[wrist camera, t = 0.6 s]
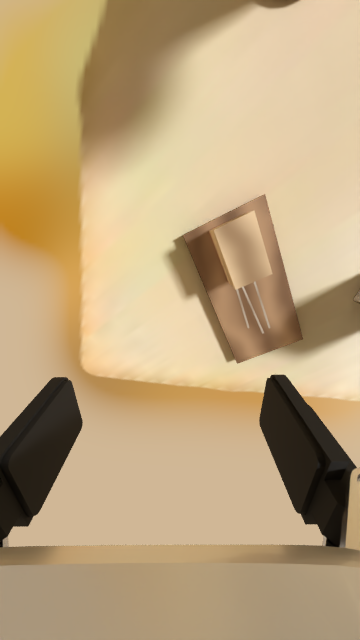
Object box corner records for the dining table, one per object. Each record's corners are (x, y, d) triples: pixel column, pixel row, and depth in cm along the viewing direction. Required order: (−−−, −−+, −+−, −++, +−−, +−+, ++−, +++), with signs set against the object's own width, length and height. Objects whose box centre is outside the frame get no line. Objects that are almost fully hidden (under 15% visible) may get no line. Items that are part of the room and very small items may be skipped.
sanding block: (242, 214, 28) (254, 210, 24) (258, 268, 31) (272, 273, 26) (208, 230, 29) (213, 230, 24) (227, 281, 32) (235, 289, 27)
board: (260, 196, 29) (264, 194, 27) (298, 335, 37) (302, 339, 36) (182, 235, 31) (182, 235, 29) (235, 358, 39) (237, 363, 38)
